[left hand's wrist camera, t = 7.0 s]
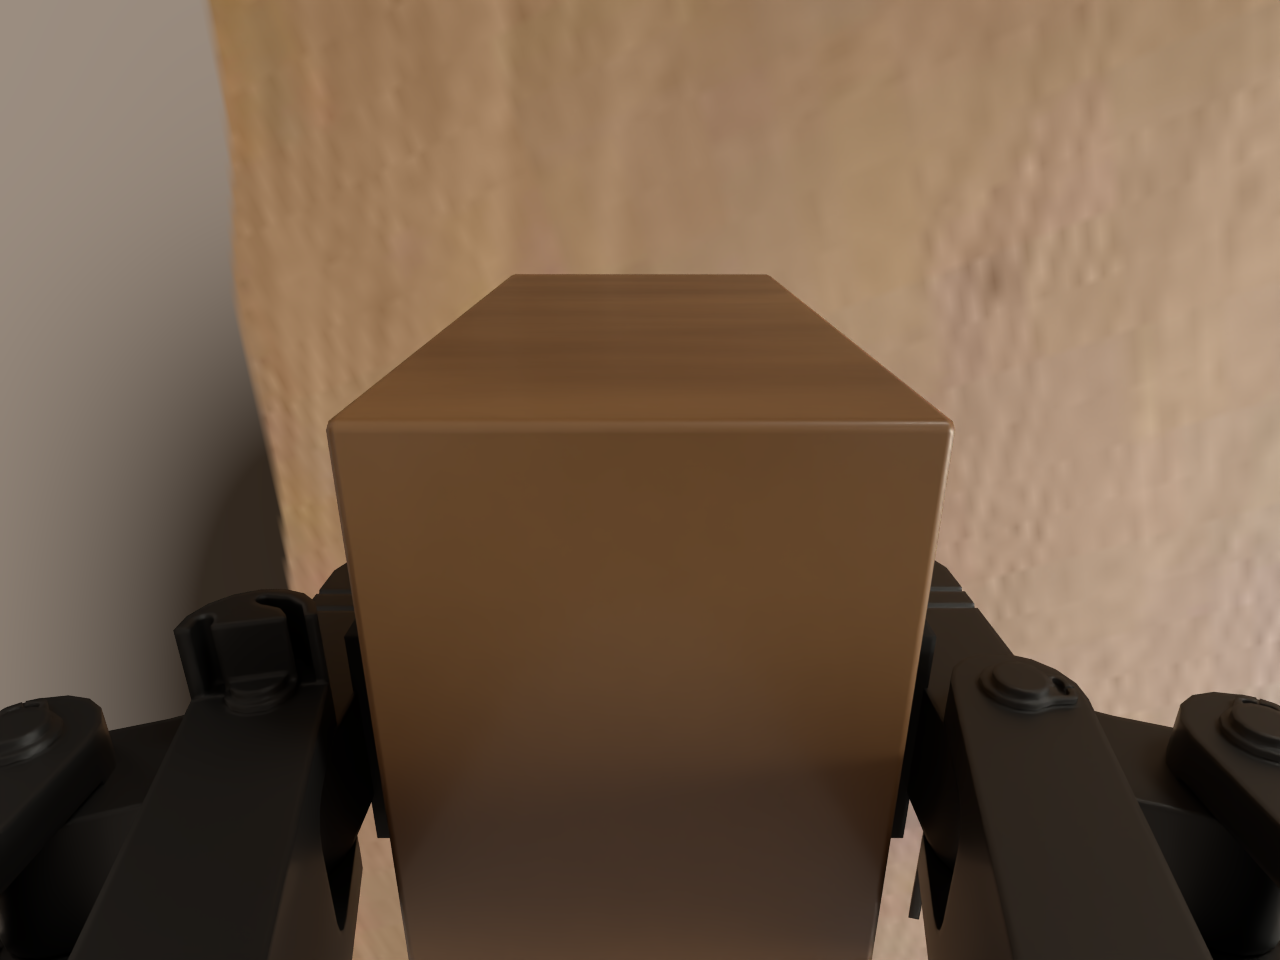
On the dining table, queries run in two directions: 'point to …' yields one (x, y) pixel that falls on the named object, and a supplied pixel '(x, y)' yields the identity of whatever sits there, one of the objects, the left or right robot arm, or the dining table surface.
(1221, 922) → the left robot arm
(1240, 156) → the dining table surface
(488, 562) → the post
